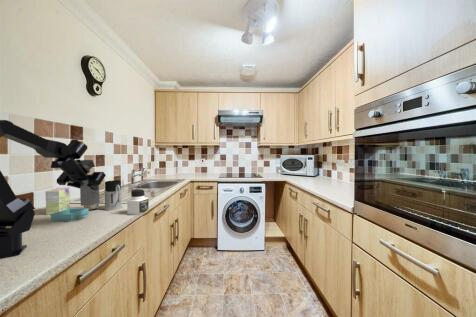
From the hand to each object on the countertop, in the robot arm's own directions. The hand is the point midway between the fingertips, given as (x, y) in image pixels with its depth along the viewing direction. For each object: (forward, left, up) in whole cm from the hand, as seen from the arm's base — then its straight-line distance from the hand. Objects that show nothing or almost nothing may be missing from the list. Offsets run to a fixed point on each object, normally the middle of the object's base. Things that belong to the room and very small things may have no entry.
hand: (92, 189), depth 94 cm
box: (+22, +16, -14) cm, 30 cm away
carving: (+18, +2, -14) cm, 23 cm away
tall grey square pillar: (-1, +1, -7) cm, 7 cm away
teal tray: (+6, +9, -13) cm, 17 cm away
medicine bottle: (-2, -19, -14) cm, 24 cm away
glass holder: (+12, -9, -14) cm, 20 cm away
